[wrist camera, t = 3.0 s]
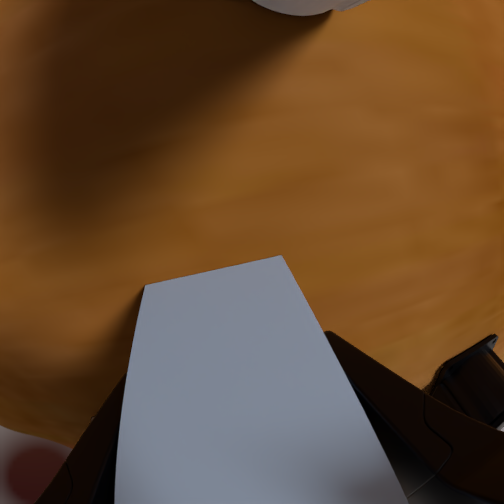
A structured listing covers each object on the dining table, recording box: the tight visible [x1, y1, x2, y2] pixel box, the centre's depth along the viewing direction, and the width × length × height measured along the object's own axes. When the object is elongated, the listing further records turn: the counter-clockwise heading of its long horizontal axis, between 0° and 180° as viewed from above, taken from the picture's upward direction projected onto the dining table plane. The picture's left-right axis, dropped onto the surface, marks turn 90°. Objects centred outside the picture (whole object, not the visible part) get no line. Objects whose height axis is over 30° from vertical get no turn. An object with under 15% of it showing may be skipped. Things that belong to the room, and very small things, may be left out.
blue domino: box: [114, 255, 409, 504], centre depth 6 cm, size 5×2×10 cm, turn 100°
